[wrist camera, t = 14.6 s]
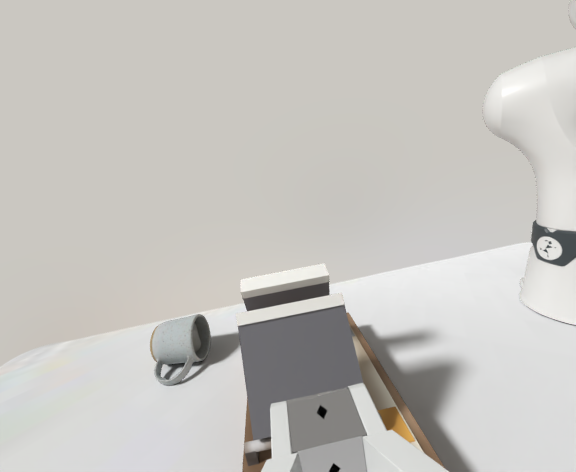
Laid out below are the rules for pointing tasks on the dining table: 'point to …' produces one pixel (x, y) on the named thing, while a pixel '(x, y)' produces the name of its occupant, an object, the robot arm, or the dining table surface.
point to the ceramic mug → (180, 345)
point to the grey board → (295, 354)
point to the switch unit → (382, 397)
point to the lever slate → (285, 287)
